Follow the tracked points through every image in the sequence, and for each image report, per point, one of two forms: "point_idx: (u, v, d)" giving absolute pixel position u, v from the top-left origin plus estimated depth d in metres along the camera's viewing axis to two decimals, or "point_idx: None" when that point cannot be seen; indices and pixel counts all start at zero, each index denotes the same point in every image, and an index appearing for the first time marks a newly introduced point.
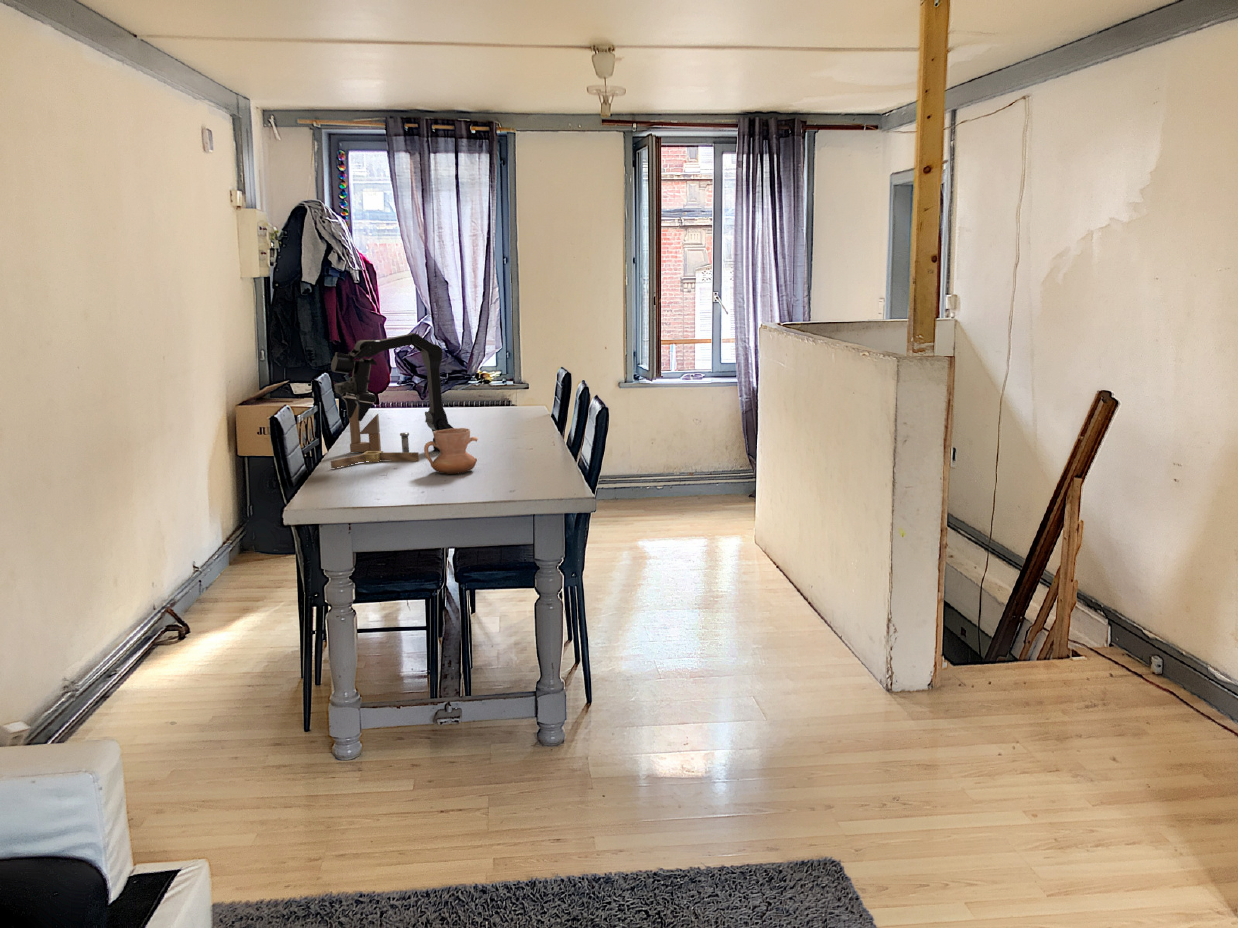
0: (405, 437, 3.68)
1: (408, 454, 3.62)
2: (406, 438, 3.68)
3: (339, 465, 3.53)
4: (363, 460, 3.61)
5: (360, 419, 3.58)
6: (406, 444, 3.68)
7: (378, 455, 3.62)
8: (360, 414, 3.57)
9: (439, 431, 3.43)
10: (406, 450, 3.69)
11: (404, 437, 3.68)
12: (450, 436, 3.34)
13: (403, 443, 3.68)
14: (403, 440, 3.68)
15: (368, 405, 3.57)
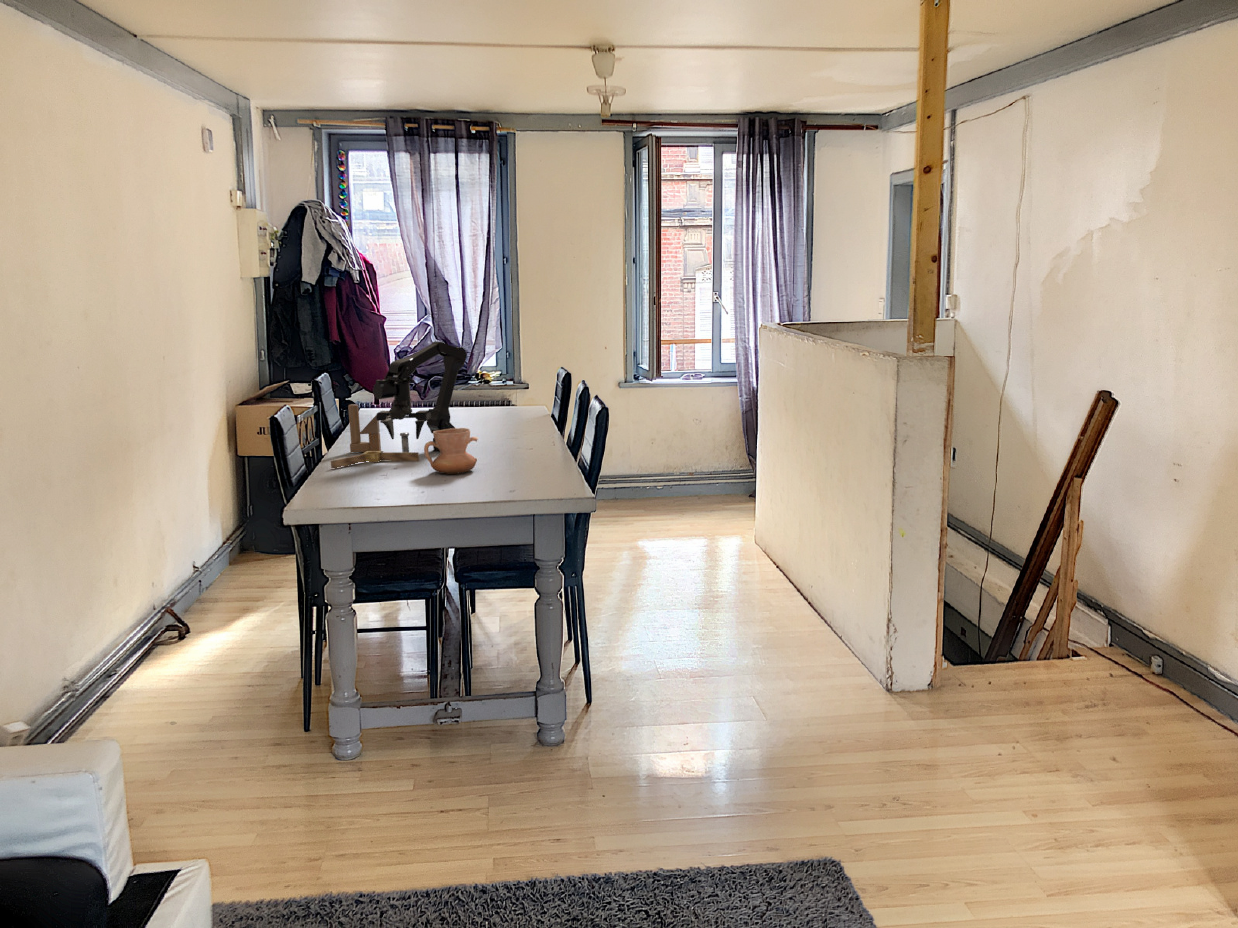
0: (405, 437, 3.68)
1: (408, 454, 3.62)
2: (406, 438, 3.68)
3: (339, 465, 3.53)
4: (363, 460, 3.61)
5: (418, 437, 3.68)
6: (406, 444, 3.68)
7: (378, 455, 3.62)
8: (419, 432, 3.67)
9: (439, 431, 3.43)
10: (406, 450, 3.69)
11: (404, 437, 3.68)
12: (450, 436, 3.34)
13: (403, 443, 3.68)
14: (403, 440, 3.68)
15: (422, 422, 3.69)
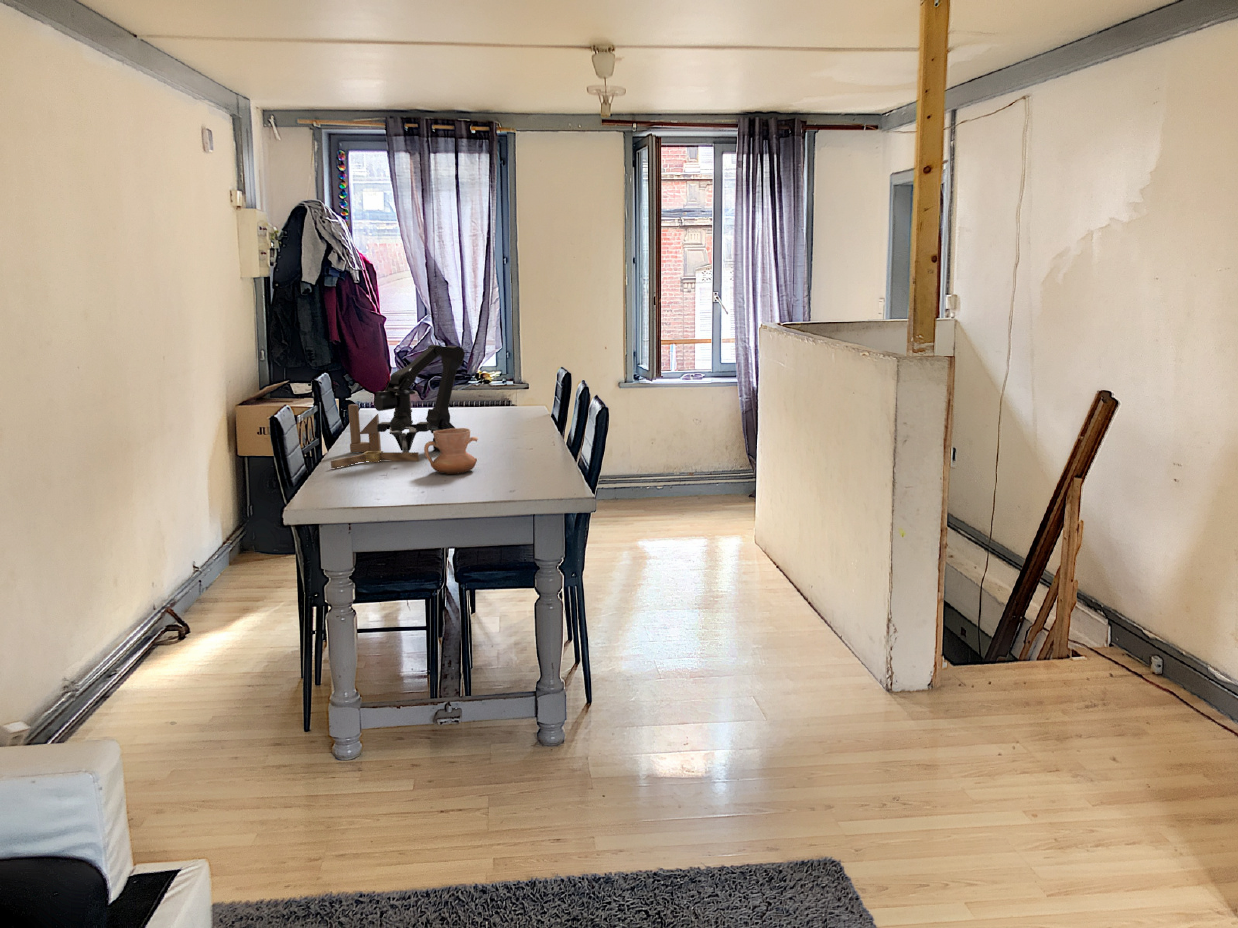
0: (405, 437, 3.68)
1: (408, 454, 3.62)
2: (406, 438, 3.68)
3: (339, 465, 3.53)
4: (363, 460, 3.61)
5: (410, 448, 3.69)
6: (406, 444, 3.68)
7: (378, 455, 3.62)
8: (410, 443, 3.69)
9: (439, 431, 3.43)
10: (406, 450, 3.69)
11: (404, 437, 3.68)
12: (450, 436, 3.34)
13: (403, 443, 3.68)
14: (403, 440, 3.68)
15: None
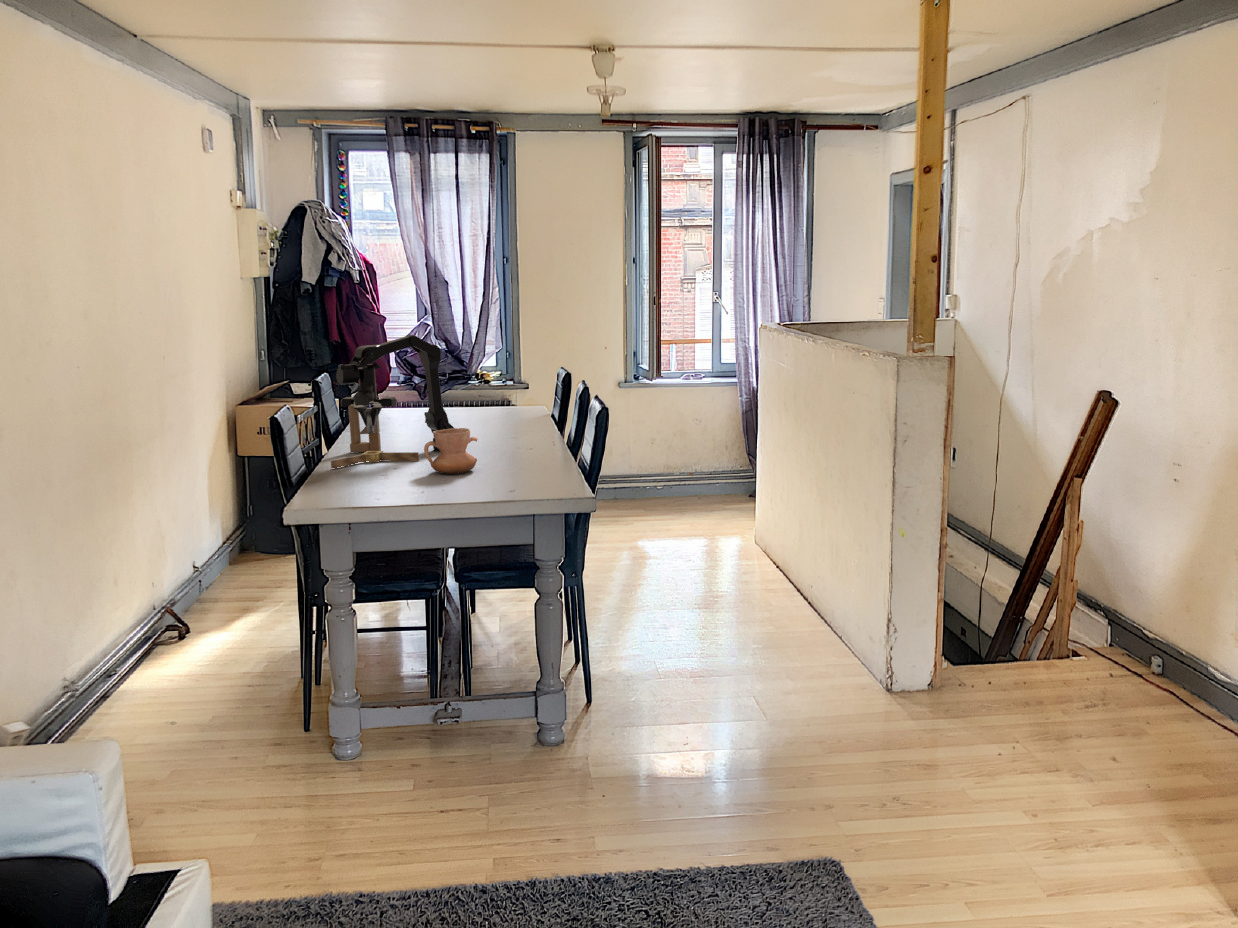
0: (370, 412, 3.60)
1: (408, 454, 3.62)
2: (370, 413, 3.60)
3: (339, 465, 3.53)
4: (363, 460, 3.61)
5: None
6: (371, 419, 3.61)
7: (378, 455, 3.62)
8: (375, 419, 3.61)
9: (439, 431, 3.43)
10: (371, 426, 3.61)
11: (369, 412, 3.60)
12: (450, 436, 3.34)
13: (368, 418, 3.61)
14: (368, 415, 3.60)
15: (379, 408, 3.62)
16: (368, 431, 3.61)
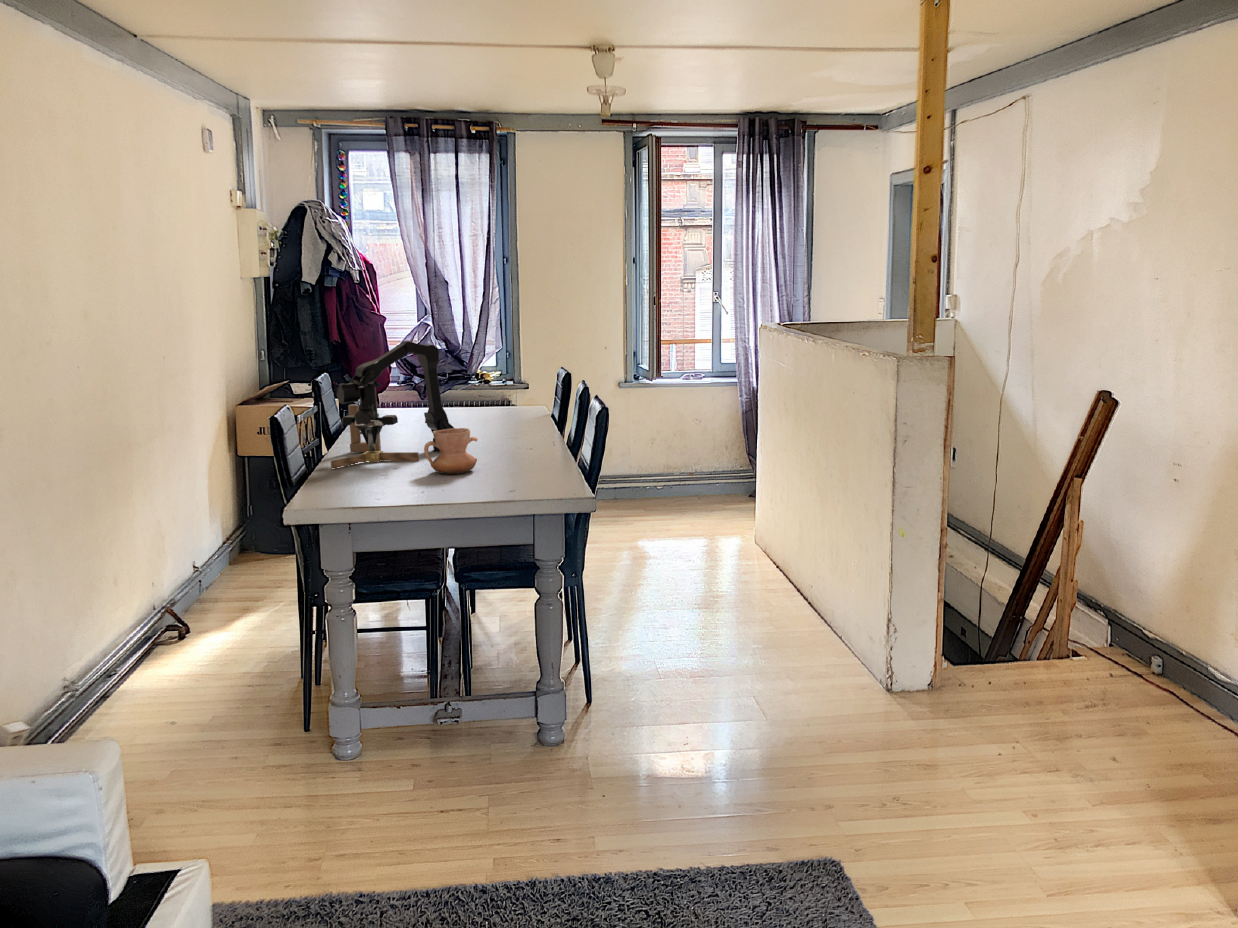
0: (371, 430, 3.61)
1: (408, 454, 3.62)
2: (371, 431, 3.62)
3: (339, 465, 3.53)
4: (363, 460, 3.61)
5: (376, 442, 3.63)
6: (372, 437, 3.62)
7: (378, 455, 3.62)
8: (376, 437, 3.62)
9: (439, 431, 3.43)
10: (372, 444, 3.62)
11: (370, 430, 3.61)
12: (450, 436, 3.34)
13: (369, 436, 3.62)
14: (369, 433, 3.62)
15: (380, 426, 3.63)
16: (369, 449, 3.63)
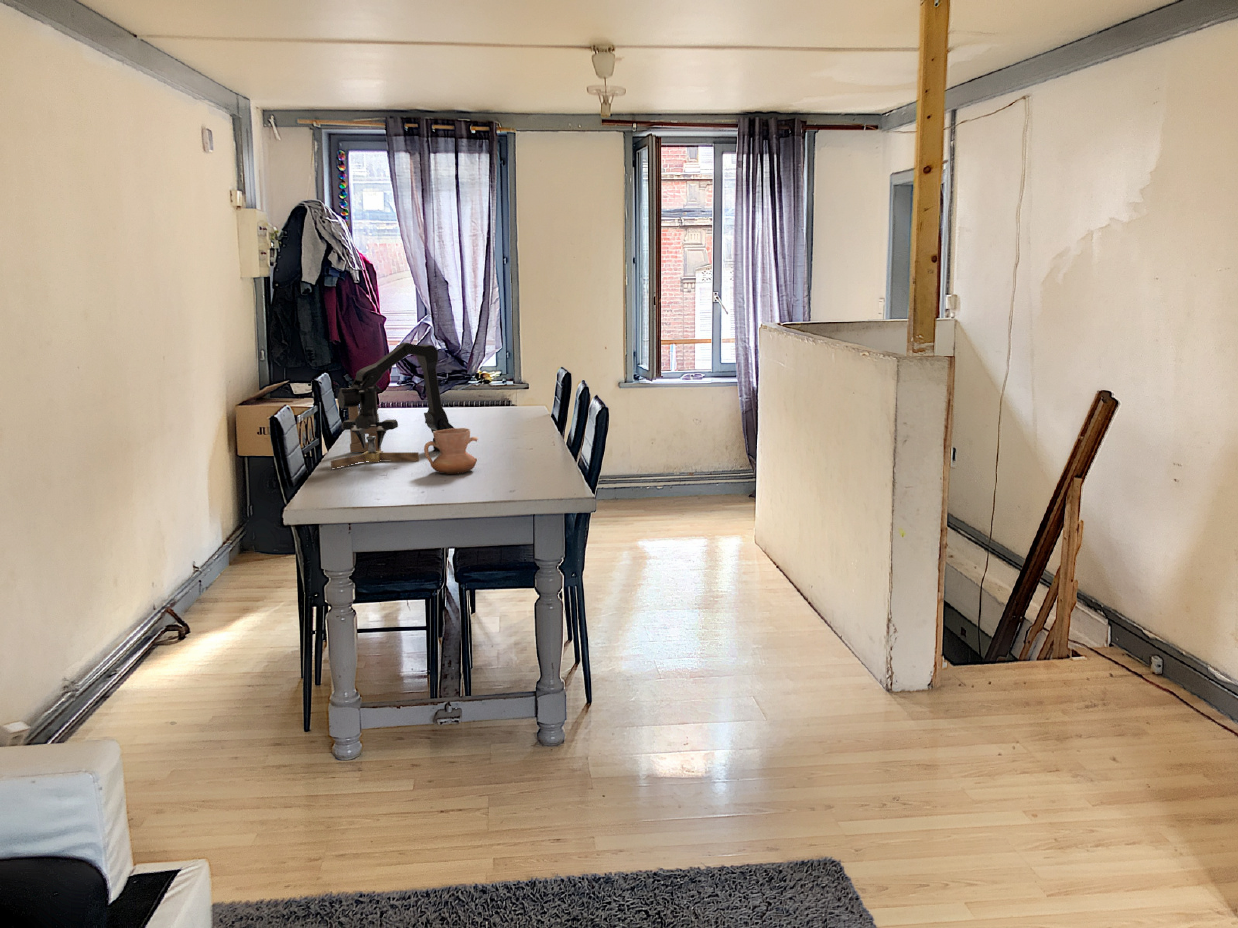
0: (371, 440, 3.62)
1: (408, 454, 3.62)
2: (372, 441, 3.62)
3: (339, 465, 3.53)
4: (363, 460, 3.61)
5: (380, 446, 3.63)
6: (372, 448, 3.63)
7: (378, 455, 3.62)
8: (380, 441, 3.63)
9: (439, 431, 3.43)
10: None
11: (370, 440, 3.62)
12: (450, 436, 3.34)
13: (369, 447, 3.63)
14: (369, 444, 3.62)
15: (384, 431, 3.64)
16: None
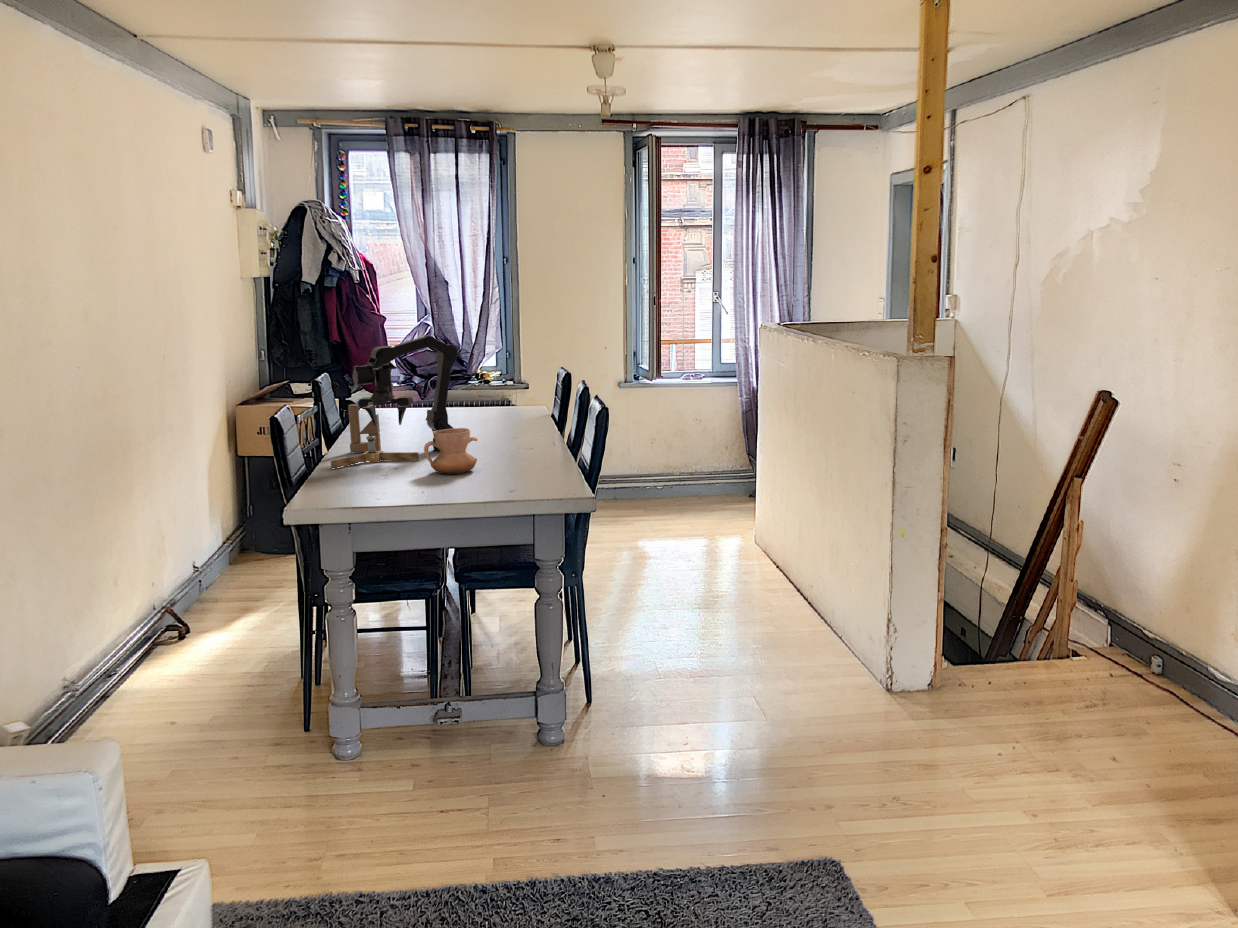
0: (371, 440, 3.62)
1: (408, 454, 3.62)
2: (372, 441, 3.62)
3: (339, 465, 3.53)
4: (363, 460, 3.61)
5: (401, 422, 3.69)
6: (372, 448, 3.63)
7: (378, 455, 3.62)
8: (401, 418, 3.68)
9: (439, 431, 3.43)
10: None
11: (370, 440, 3.62)
12: (450, 436, 3.34)
13: (369, 447, 3.63)
14: (369, 444, 3.62)
15: (405, 407, 3.69)
16: None
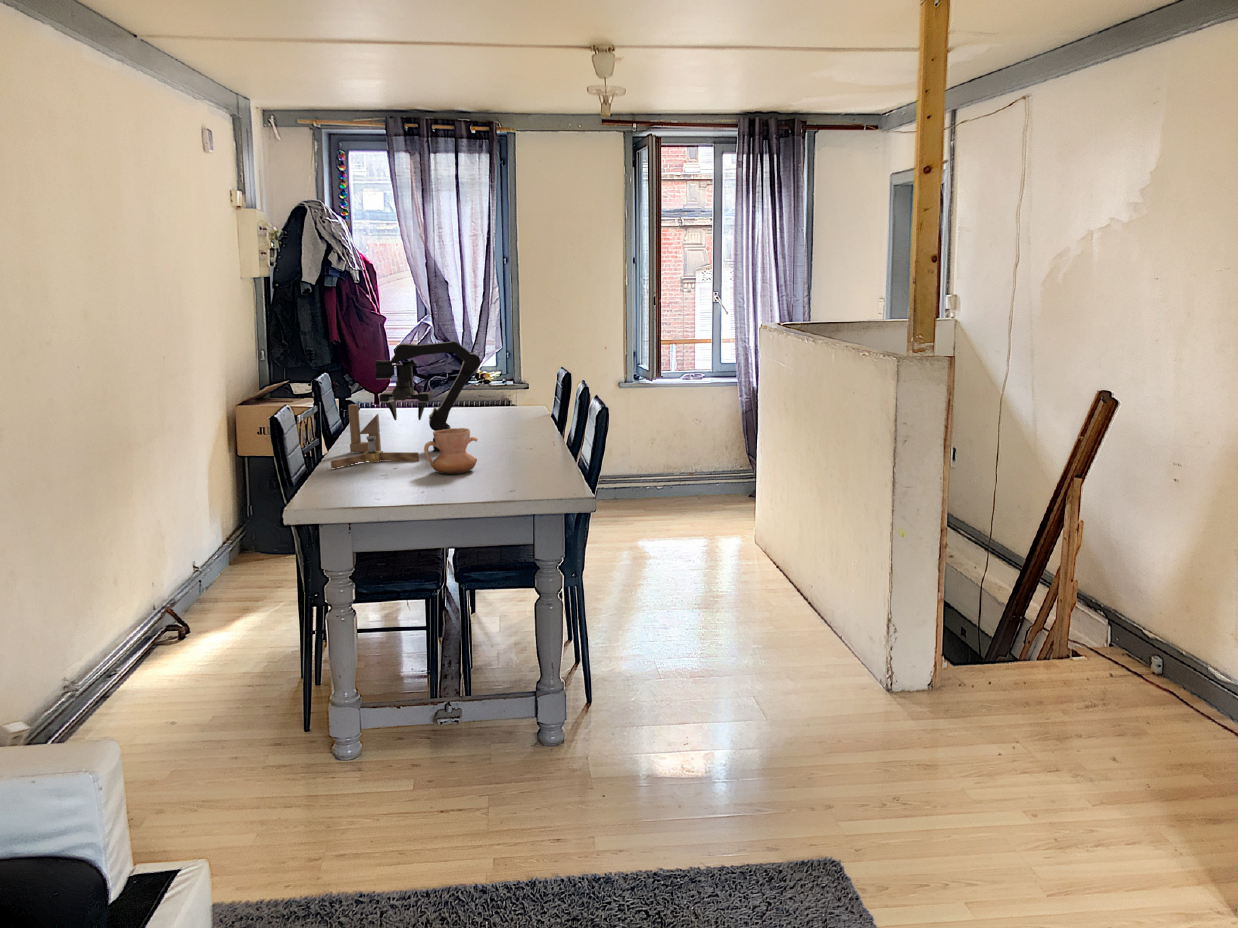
0: (371, 440, 3.62)
1: (408, 454, 3.62)
2: (372, 441, 3.62)
3: (339, 465, 3.53)
4: (363, 460, 3.61)
5: (420, 418, 3.77)
6: (372, 448, 3.63)
7: (378, 455, 3.62)
8: (421, 413, 3.76)
9: (439, 431, 3.43)
10: None
11: (370, 440, 3.62)
12: (450, 436, 3.34)
13: (369, 447, 3.63)
14: (369, 444, 3.62)
15: (424, 403, 3.77)
16: None
